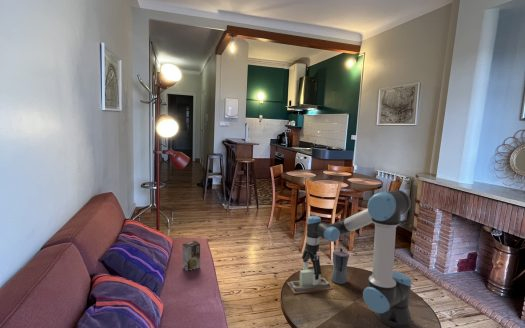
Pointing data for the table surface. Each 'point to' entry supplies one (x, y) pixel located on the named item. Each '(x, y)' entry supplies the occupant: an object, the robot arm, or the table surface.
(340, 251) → the moka pot
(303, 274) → the pale green block
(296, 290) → the grey rectangular tray
